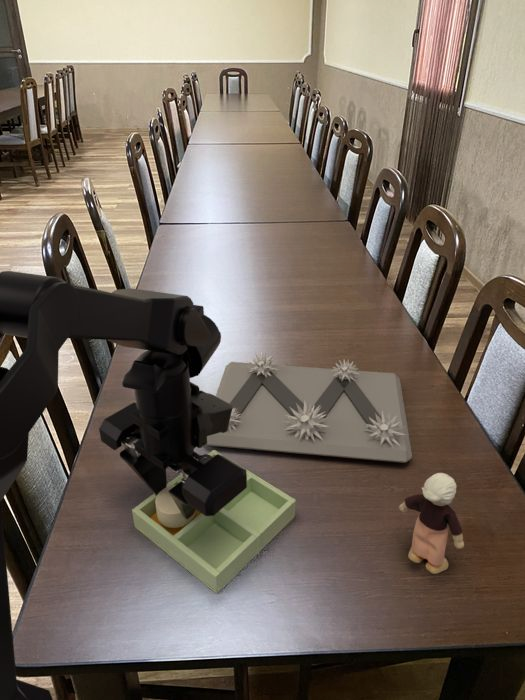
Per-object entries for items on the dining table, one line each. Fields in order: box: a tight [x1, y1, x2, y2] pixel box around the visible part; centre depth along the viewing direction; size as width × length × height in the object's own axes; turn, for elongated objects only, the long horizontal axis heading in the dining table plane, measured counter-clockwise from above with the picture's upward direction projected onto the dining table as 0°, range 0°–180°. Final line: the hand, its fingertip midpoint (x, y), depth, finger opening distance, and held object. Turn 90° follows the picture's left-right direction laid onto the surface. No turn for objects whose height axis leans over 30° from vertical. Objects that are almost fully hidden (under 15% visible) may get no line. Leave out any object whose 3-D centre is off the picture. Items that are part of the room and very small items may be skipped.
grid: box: [131, 449, 297, 595], centre depth 66 cm, size 14×14×3 cm
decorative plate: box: [205, 351, 413, 464], centre depth 83 cm, size 30×22×7 cm
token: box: [155, 485, 195, 528], centre depth 65 cm, size 5×5×2 cm
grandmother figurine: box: [398, 472, 465, 575], centre depth 59 cm, size 8×4×13 cm, turn 58°
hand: (175, 506), depth 65 cm, fingers closed on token, 4 cm apart
